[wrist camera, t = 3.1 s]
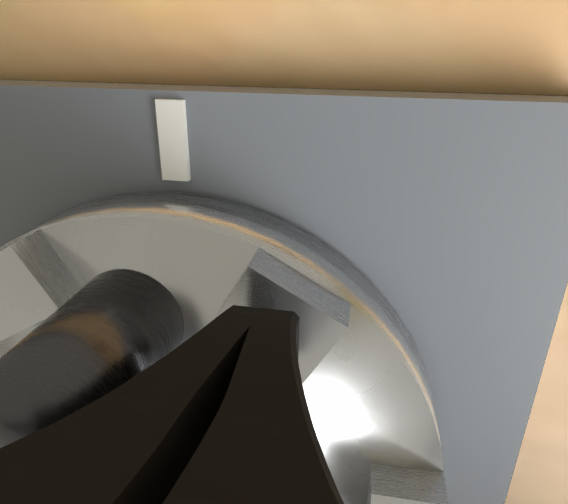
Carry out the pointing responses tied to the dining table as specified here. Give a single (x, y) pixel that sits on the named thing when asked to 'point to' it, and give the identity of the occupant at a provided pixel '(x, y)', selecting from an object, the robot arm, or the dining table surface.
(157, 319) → the grey turntable disc
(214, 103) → the boss plate
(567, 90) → the dining table surface
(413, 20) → the dining table surface
